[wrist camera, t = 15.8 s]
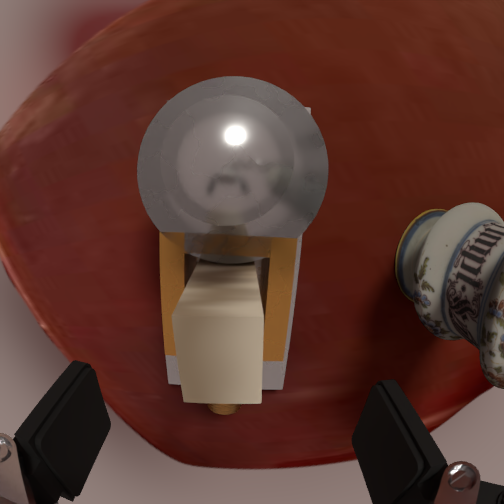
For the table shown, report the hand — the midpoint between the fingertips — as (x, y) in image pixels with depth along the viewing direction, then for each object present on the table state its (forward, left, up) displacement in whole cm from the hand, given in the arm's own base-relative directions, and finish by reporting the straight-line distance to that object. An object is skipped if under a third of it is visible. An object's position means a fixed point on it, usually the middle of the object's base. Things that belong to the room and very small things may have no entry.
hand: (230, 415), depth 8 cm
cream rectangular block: (+1, 0, -15) cm, 15 cm away
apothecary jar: (-19, -2, -17) cm, 26 cm away
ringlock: (+1, -1, -17) cm, 17 cm away
